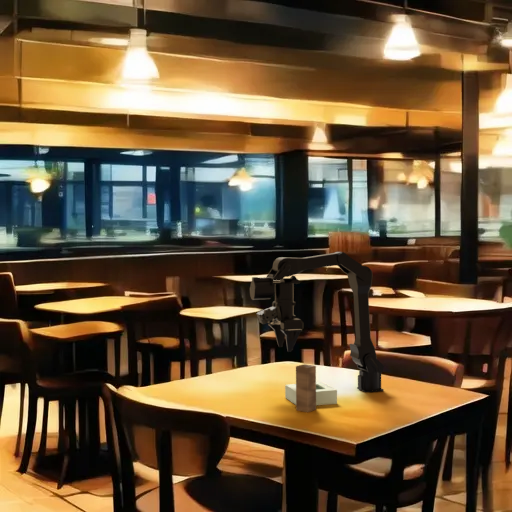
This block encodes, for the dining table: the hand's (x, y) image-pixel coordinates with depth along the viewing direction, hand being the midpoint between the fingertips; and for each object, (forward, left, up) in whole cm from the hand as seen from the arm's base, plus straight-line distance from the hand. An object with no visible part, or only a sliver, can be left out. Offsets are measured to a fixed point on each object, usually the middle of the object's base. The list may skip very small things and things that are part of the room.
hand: (284, 349), depth 226 cm
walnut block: (0, +18, -14) cm, 23 cm away
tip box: (-5, +8, -14) cm, 17 cm away
